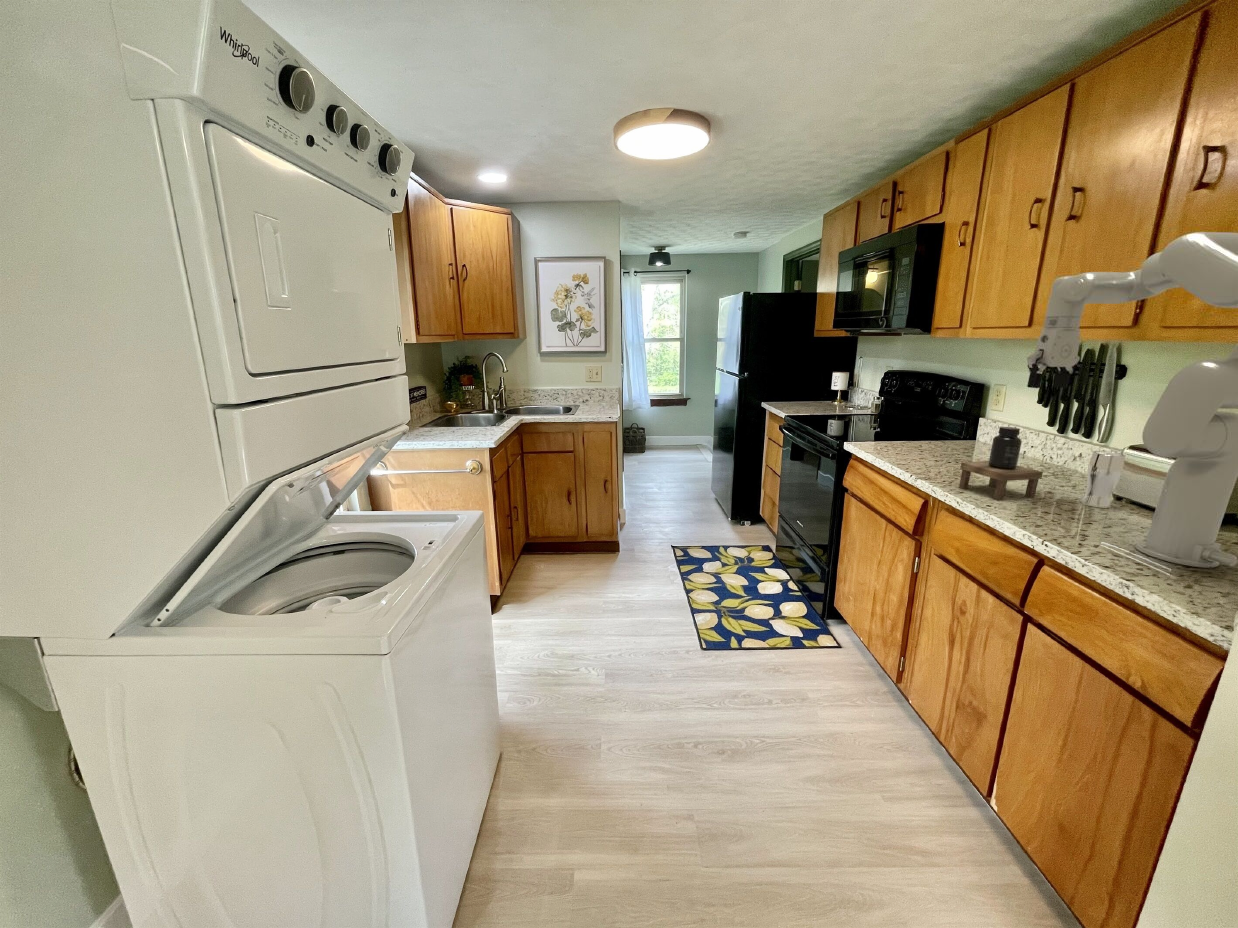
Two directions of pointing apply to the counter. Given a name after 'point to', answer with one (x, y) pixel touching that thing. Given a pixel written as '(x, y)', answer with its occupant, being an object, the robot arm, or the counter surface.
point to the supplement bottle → (1005, 449)
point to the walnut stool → (1000, 477)
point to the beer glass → (1102, 478)
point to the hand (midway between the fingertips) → (1047, 387)
